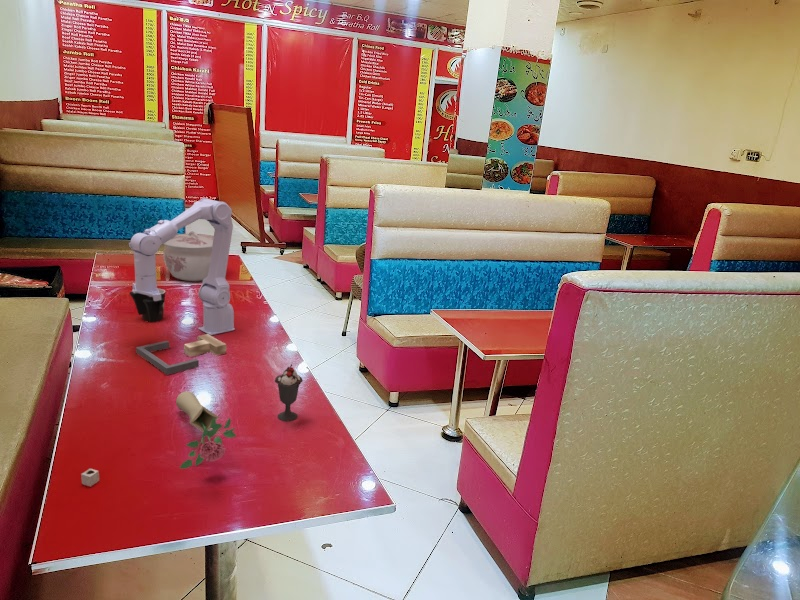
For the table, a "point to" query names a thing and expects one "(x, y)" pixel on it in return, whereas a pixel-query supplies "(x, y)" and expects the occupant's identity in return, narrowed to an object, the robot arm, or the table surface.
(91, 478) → the beige hollow cube
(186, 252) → the chamber pot
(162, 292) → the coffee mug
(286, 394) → the sundae
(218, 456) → the flower vase
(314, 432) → the table surface
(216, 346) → the T block
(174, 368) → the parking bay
